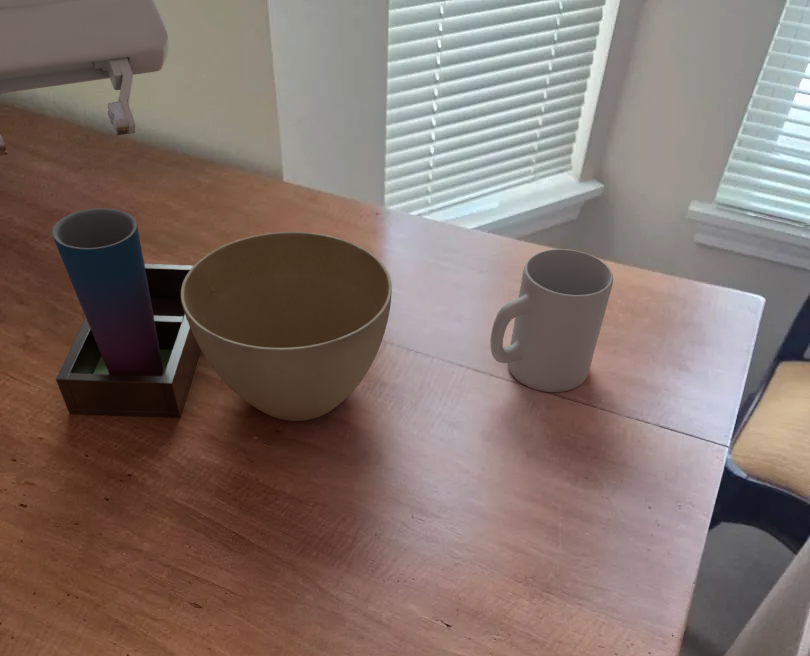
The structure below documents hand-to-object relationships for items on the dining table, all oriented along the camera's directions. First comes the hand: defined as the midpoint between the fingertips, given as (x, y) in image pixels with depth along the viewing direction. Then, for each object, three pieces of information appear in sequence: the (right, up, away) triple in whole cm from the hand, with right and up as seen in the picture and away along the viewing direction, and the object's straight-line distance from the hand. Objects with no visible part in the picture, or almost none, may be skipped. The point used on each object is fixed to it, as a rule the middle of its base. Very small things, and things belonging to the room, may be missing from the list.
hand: (63, 141), depth 56 cm
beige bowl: (+15, -16, +18) cm, 28 cm away
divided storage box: (-1, -10, +21) cm, 24 cm away
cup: (-1, -13, +18) cm, 23 cm away
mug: (+39, -12, +22) cm, 46 cm away
